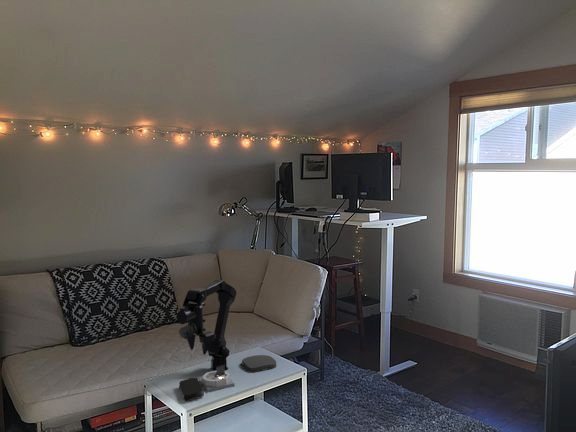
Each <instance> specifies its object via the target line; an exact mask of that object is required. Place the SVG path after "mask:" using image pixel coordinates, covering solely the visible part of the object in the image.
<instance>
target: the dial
mask: <svg viewBox="0 0 576 432" xmlns="http://www.w3.org/2000/svg"><path fill="white" fill-rule="evenodd" d="M216 369H217V373H212V374H209V375H208V376H207V379H210V380H219V379H221V378H222V377H223V378H225V371H226V370H225V366H224V365H220V366H217V367H216Z"/></svg>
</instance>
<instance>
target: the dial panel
mask: <svg viewBox="0 0 576 432" xmlns="http://www.w3.org/2000/svg"><path fill="white" fill-rule="evenodd" d="M212 373H217V371H214V370H211V371H209V372H208V371H207V372H205V374H203V375H202V376H201V377H202V378H199V379H198V381H199V382H200V384H201V386H202V387H203V389H204V390H206V392H208V393H209V392H210V393H211V392H214V391H219V390H222V389H227V388H233V387H235V382H234V381H233V380H231V373H229V372H228V371H226V370H225V378H223V377H222V378H221V379H219V380H210V379H207V376H208V375H209V374H212Z"/></svg>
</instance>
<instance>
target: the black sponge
mask: <svg viewBox="0 0 576 432" xmlns="http://www.w3.org/2000/svg"><path fill="white" fill-rule="evenodd" d="M178 389H179V390H180V392H181V394H182V396H183V400H184V401H188V402H189V401H192V400H194V399H199V398H201V397H203V396H204V395H205V391H204V390H205V389H204V387H203V386H202V385H201V384H200V382H199V379H198V377H190V378H186V379H184V380H181V381H179V386H178Z"/></svg>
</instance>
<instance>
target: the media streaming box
mask: <svg viewBox="0 0 576 432" xmlns="http://www.w3.org/2000/svg"><path fill="white" fill-rule="evenodd" d="M241 365H242V366H243V368H244V369H245V370H247V371H248V372H251V373H257V372H258V373H259V372H262V371H267V370H271V369H272V370H273V369H275V368H277V360H276V359H274V357H272V356H271V355H265V354H257V355H251V356H247V357H244V358H243V359H241Z"/></svg>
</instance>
